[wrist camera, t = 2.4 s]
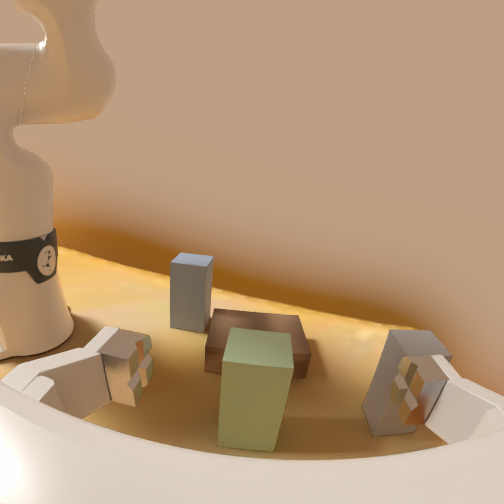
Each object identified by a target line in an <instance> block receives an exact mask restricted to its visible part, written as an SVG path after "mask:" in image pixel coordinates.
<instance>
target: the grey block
mask: <svg viewBox="0 0 504 504" xmlns="http://www.w3.org/2000/svg"><path fill="white" fill-rule="evenodd" d="M438 354H440V355H442V356H444V357H445V359H446V360H447V361H448V362H449V363H450V361H451V358H452V354H451V353H450V352H449V351H448V350H447V349H446V348H445V346H444V345H443V344H442V343H441V342H440V341H439V340H438V338H436V336H435V335H434V334H433V333H432V332H431V331H425V330H389V334H388V337H387V340H386V343H385V346H384V349H383V352H382V355H381V358H380V360H379V363H378V366H377V369H376V371H375V374H374V377H373V379H372V382H371V385H370V387H369V390H368V392H367V395H366V397H365V400H364V402H363V404H362V407H363V410H364V413H365V416H366V419H367V422H368V425H369V428H370V431H371V434H372V437H373V436H385V435H396V434H404V433H412V432H414V431H415V429H416V427H417V426H418V425H408V426H403V424H402V421H401V419H400V417H399V415H398V410H399V408H398V407H397V406H395V405H394V404H393V402H392V400H391V395H390V392H391V385H392V382H393V379H394V378H395V377H396V376H397V375H398V374H399V373H400V372H399V369H398V366H399V363H400V361H401V360H402V358H403V357H413V356H428V355H438Z"/></svg>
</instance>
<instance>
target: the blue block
mask: <svg viewBox="0 0 504 504" xmlns="http://www.w3.org/2000/svg"><path fill="white" fill-rule="evenodd" d="M212 271H213V256H205V255H196V254H188V253H180V254H179V255H178V256H177V257H176V258H175V259H173V261H171V267H170V328H176V329H182V330H188V331H195V332H201V333H204V331H205V328H206V326H207V323H208V321H209V318H210V306H211V289H212V273H213V272H212Z"/></svg>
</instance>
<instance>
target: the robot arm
mask: <svg viewBox="0 0 504 504" xmlns="http://www.w3.org/2000/svg"><path fill="white" fill-rule="evenodd" d="M13 2H14V5H15V7H16V8H17V9H18V10H19V11H20V12H21V13H22V14H23V15H25V16H26V17H28V18H30V19H31V20H33V21H34V22H36V23H37V24H38V25H40V26H41V28H42V29H43V31H44V35H45V39H44V40H43V41H42V42H41V43H37V45H36V48H35V44H0V360H1V359H5V358H8V357H11V356H26V355H33V354H38V353H42V352H45V351H48V350H50V349H52V348H54V347H56V346H58V345H60V344H61V343H63V342H64V341H65V340H66V339H67V338H68V337H69V336H70V335H71V333H72V331H73V329H74V322H73V319H72V317H71V315H70V312H69V310H68V307H67V304H66V301H65V298H64V295H63V291H62V287H61V283H60V278H59V274H58V269H57V257H58V248H57V236H56V229H55V228H54V227H53V174H52V171H51V169H50V167H49V165H48V164H47V162H46V161H44V160H43V159H42V158H40V157H39V156H37V155H36V154H34V153H32V152H30V151H28V150H27V149H24V148H22V147H21V146H19V145H18V144H17V143H16V142H15V140H14V138H13V133H12V132H13V129H14V127H15V126H17V125H19V122H20V124H21V125H22V124H67V123H73V122H79V121H84V120H90V119H94V118H95V117H97V116H98V115H99V114H100V113H101V112H102V111H103V110H104V109H105V107H106V106H107V105H108V103H109V101H110V100H111V98H112V95H113V93H114V89H115V85H116V72H115V67H114V64H113V62H112V60H111V58H110V57H109V55H108V54H107V53H106V52H105V51H104V49H103V48H102V46H101V44H100V42H99V40H98V37H97V33H96V29H95V8H96V3H97V0H13ZM34 49H35V52H34ZM33 52H34V55H33ZM32 56H33V59H32ZM31 60H32V63H31ZM30 64H31V67H30ZM29 68H30V71H29ZM28 72H29V76H28ZM27 76H28V80H27ZM26 81H27V85H26ZM25 86H26V90H25ZM24 91H25V96H24ZM23 97H24V102H23ZM22 102H23V107H22ZM21 108H22V115H21ZM20 115H21V121H20ZM151 347H152V346H151V338H150V336H149V335H147V334H142V333H137V332H133V331H128V330H124V329H120V328H115V327H110V326H105V327H104V328H103V329H102V330H101V331H100V332H99V333H98V334H97V335H96V336H95V337H94V338H93V339H92V340H91V341H90V342H89V343H88V344H87V345H86V346H85V347H84V348H83V349H82V348H75V349H72V350H68V351H65V352H61V353H58V354H54V355H51V356H47V357H44V358H40V359H36V360H33V361H29V362H25V363H21V364H19V365H17V366H16V367H15V368H14V369H13V370H12V371H11V372H10V373H8V374H7V375H6V376H5V377H4V378H3V379H2V380H1V381H0V504H504V397H503V396H501V395H499V394H496V393H494V392H493V391H490V390H488V389H486V388H484V387H482V386H480V385H478V384H476V383H474V382H472V381H470V380H467V379H462V378H461V377H460V376H459V374H458V373H457V372H456V371H455V370H454V368H453V367H452V366H451V365H450V363H449V362H448V361H447V360H446V359H445V357H444V356H442V355H440V354H438V355H428V356H413V357H403V358H402V360H401V361H400V363H399V366H398V369H399V372H400V373H399V374H398V375H397V376H396V377H395V378H394V379H393V382H392V385H391V392H390V395H391V400H392V402H393V404H394V405H395V406H397V407H398V408H399V410H398V415H399V417H400V419H401V421H402V424H403V426H408V425H418V424H425V425H426V426H427V427H428V428H429V429H430V430H432V431H433V432H434V433H435V434H437V435H438V436H439V437H440V438H441V439H443V440H444V441H445V442H446V443H448V445H444V446H439V447H434V448H430V449H424V450H419V451H413V452H407V453H401V454H394V455H386V456H377V457H367V458H355V459H337V460H280V459H263V458H250V457H240V456H231V455H223V454H216V453H209V452H203V451H197V450H191V449H186V448H181V447H176V446H171V445H166V444H162V443H158V442H154V441H150V440H146V439H142V438H138V437H134V436H131V435H127V434H124V433H121V432H117V431H114V430H111V429H108V428H105V427H102V426H99V425H96V424H93V423H90V422H87V421H85V420H82V418H84V417H86V416H88V415H89V414H91V413H93V412H95V411H97V410H98V409H100V408H102V407H104V406H105V405H107V404H109V403H111V401H113V402H117V403H121V404H125V405H129V406H133V407H136V406H137V404H138V402H139V400H140V398H141V397H142V395H143V391H142V388H143V387H145V386H147V385H148V384H149V382H150V380H151V376H152V372H153V359H152V357H151V356H150V355H149V353H148V352H149V350H150V349H151Z"/></svg>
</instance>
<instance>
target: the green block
mask: <svg viewBox="0 0 504 504" xmlns="http://www.w3.org/2000/svg"><path fill="white" fill-rule="evenodd" d="M293 370H294V364H293V354H292V345H291V336H290V334H289V333H279V332H269V331H260V330H251V329H243V328H234V327H231V328H230V332H229V336H228V340H227V344H226V348H225V352H224V356H223V360H222V374H221V390H220V406H219V423H218V442H217V446H221V447H228V448H236V449H245V450H255V451H268V452H274V448H275V444H276V441H277V437H278V433H279V429H280V425H281V421H282V417H283V413H284V409H285V405H286V401H287V397H288V392H289V388H290V384H291V379H292V375H293Z"/></svg>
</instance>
